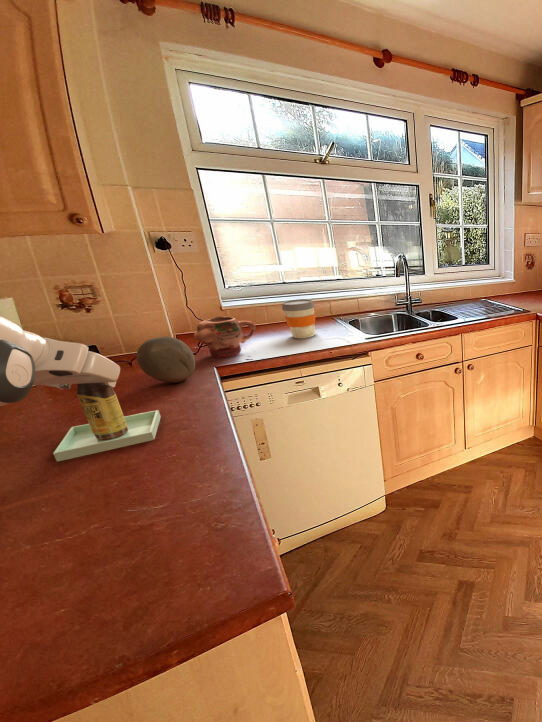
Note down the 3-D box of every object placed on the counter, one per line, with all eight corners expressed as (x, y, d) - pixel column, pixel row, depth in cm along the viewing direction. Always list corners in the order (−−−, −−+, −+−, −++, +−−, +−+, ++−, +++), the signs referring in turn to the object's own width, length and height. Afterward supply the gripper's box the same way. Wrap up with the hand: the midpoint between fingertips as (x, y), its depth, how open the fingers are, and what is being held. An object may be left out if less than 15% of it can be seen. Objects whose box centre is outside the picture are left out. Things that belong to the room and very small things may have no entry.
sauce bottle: (89, 439, 101) (54, 360, 93) (118, 427, 106) (87, 352, 99) (107, 443, 99) (73, 363, 91) (136, 431, 104) (106, 354, 97)
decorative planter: (255, 345, 175) (247, 311, 170) (264, 351, 167) (255, 316, 162) (198, 355, 163) (187, 320, 158) (204, 363, 154) (192, 325, 149)
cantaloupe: (199, 371, 146) (186, 329, 140) (201, 383, 135) (187, 338, 130) (147, 381, 138) (131, 336, 133) (145, 394, 128) (127, 346, 122)
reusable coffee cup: (293, 332, 193) (286, 299, 187) (322, 330, 195) (316, 298, 189) (284, 340, 182) (276, 305, 176) (315, 338, 184) (308, 303, 178)
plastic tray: (56, 461, 93) (52, 453, 92) (74, 434, 104) (71, 427, 104) (154, 439, 101) (151, 432, 100) (160, 416, 113) (158, 409, 112)
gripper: (-33, 375, 82) (35, 400, 95) (82, 371, 85) (133, 396, 97) (-20, 346, 85) (45, 374, 98) (91, 343, 87) (140, 371, 100)
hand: (90, 385), depth 97 cm, fingers open, 8 cm apart
